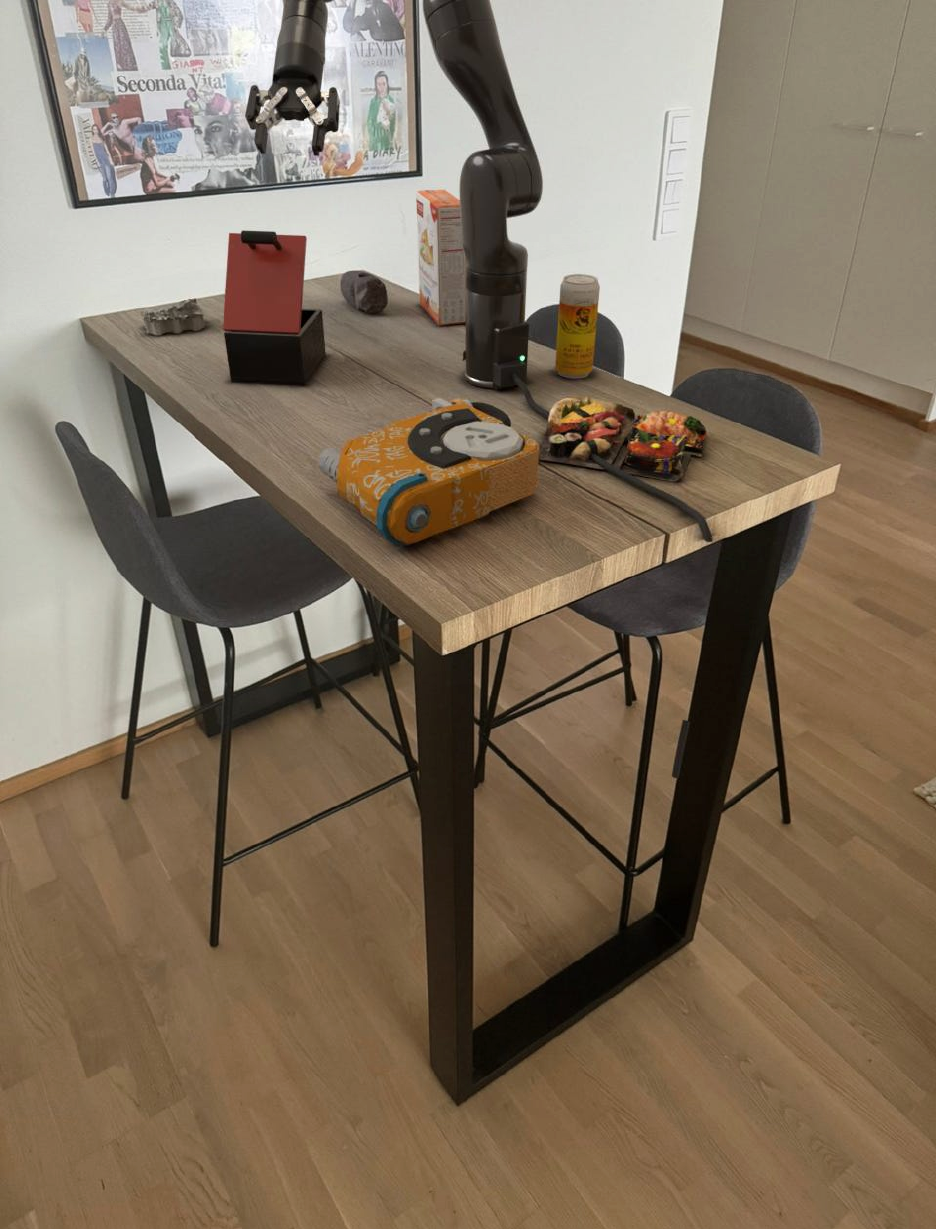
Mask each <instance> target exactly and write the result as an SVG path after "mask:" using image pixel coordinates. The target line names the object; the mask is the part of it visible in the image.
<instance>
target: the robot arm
mask: <svg viewBox="0 0 936 1229" xmlns="http://www.w3.org/2000/svg"><path fill="white" fill-rule="evenodd" d="M334 1H335V0H282V5H283V6H282V7H283V8H282V15H281V16H282V17H281V24H280V28H279V29H280V30H279V33H278V35H277V41H276V49H275V55H274V64H273V70H272V78H271V81H272V82H271V85H270V87H269V88H268V90H267V89H260V88H259V87H258V85H257V84H252V85H251V86H250V90H249V92H248V99H247V104H246V108H245V113H244V117H245V120H246V122H247V124H248V128H249V130H252V131H254V132H255V133H254V139H253V142H254V144H255V148H256V149H257V150H258V151H259V153H260V154H261V155H266V153H267V146H268V139H269V131H270V130H271V129H272V128H273V127H277V126H278V125H279V124H280V123H281V122H283V120H284V121H287V122H288V121H289V122H290V121H299V122H304V121H305V120H307V119H308V121H309V122H310V123H311V125H312V126H313V129H312V139H311V150H312V153H313V156H315V157H316V156H317V157H318V156H319V157H320V153H323V152H324V148H325V140H326V135H327V133H330V132H332V133H337V132H338V131H339V128H340V127H339V126H340V108H341V101H340V96H339V93H338V90H337V87H335V86H331V87H330V88H329V89H328V91H322V84H323V83H322V82H323V74H324V67H325V64H326V36H327V28H328V20H329V10H328V6H327V4H329V3H332V2H334ZM422 13H423V19H424V22H425V25H426V26H425V27H426V29H427V32H428V33H427V34H428V36H429V40H430V44H431V48H432V51H433V54H434V57H435V59H436V62H437V64H438V66H439V68H440V69H441V71H442V72H443V74H444V75H445V77H446V78H447V80H448V81H449V82H450V83H451V85H452V86H453V88H454V89H455V90H456V92H458V94H459V95H460V97H462V98H463V100H464V101H465V102H466V104H467V105H468V106H469V107H470V109H471V111H472V112H473V113H474V115H475V116H476V118H477V120H478V122H479V124H480V126H481V129H482V131H483V135H484V137H485V139H486V142H487V146H488V148H487V149H482V150H477V151H474V152H473V153H471V154H470V155H468V157H467V158H465V161H464V163H463V165H462V167H461V171H460V176H459V188H458V189H459V193H458V194H459V200H460V217H461V239H462V245H463V249H464V252H465V255H466V323H465V350H464V351H463V352H462V362H465V368H464V379H465V381H466V382H467V383H468V384H471V385H474V386H476V387H481V388H485V389H493V390H495V391H501V390H504V389H507V388H510V387H513V386H518V387H519V389H520V390H521V392H522V393H523V396H524V398H525V401H526V403H527V404H528V405H529V406H530V408H532V410H533V411H534V412H536V413H537V414H539V415H540V416H542V417H544V418H545V419H549V415H550V411H549V410H547V409H545V408H543V407H541V406H540V405H539V404H537V402H536V401H535V399H533V396H532V394H531V392H530V389H529V388H528V386H527V379H528V356H529V355H528V354H529V337H530V335H529V334H530V323H529V322H528V321H527V320H526V305H527V304H526V303H527V302H526V301H527V282H528V279H527V278H528V265H529V264H528V262H529V253H528V249H527V248H526V246H524V245H523V244H521V243H519V242H515V241H511V239H509V235H508V219H511V218H516V217H521V216H524V215H528V214H530V213H532V212H534V211H535V210H536V209H537V208H538V206H539V204H540V202H541V200H542V197H543V190H544V189H543V188H544V179H543V173H542V166H541V164H540V161H539V157H538V154H537V150H536V149H535V145H534V142H533V140H532V137H531V134H530V132H529V130H528V129H529V128H528V127H527V124H526V121H525V118H524V116H523V114H522V110H521V108H520V105H519V102H518V98H517V95H516V92H515V89H514V87H513V86H514V85H513V82H512V79H511V78H512V77H511V76H510V72H509V69H508V65H507V62H506V59H505V55H504V51H503V47H502V44H501V40H500V34H499V30H498V27H497V26H498V25H497V22H496V19H495V15H494V11H493V9H492V4H491V0H422ZM267 101H268V102H267ZM266 102H267V103H266ZM323 102H324V103H325V106H326V107H327V117H326V118H322V116H321V115H320V113H319V112H318V110H317V109H318V108H319V107H320V106H321V104H322V103H323ZM265 103H266V104H265ZM262 108H263V110H261V109H262ZM275 112H276V113H275ZM590 459H591V460H592V461H593V462H595V463H596V464H598V465H600V466H601V467H602V468H604V469H603V470H605V471H607V472H608V473H610V474H612V475H614V476H616V477H617V478H620V479H621V480H623V481H625V482H627V483H628V484H631V485H632V486H635V487H637V488H638V489H640V490H642V491H644V492H646V493H648V494H650V495H652V496H654V497H656V498H658V499H660V500H663V501H665V502H667V503H668V504H670V505H672V506H674V507H676V508H678V509H679V510H680V511H681V512H683V513H684V514H686V515H687V516H689V517H691V519H694V521H696V523H697V525H698V527H699V529H700V532H701V535H702V539H703V540H704V541H705V543H706V542H707V543H712V542H713V536H712V532H711V529H710V526H709V524H708V522H707V520H706V519H705V517H704V516H703V514H701V512H699V511H698V510H697V509H694V508H693V507H691V506H690V505H689V504H687V503H686V502H684V501H682V500H681V499H680V498H678V497H676V496H674V495H672V494H671V493H668V492H666V491H664V490H662V489H660V488H658V487H656V486H653V485H651V484H649V483H647V482H646V481H643V480H641V479H639V478H637V477H636V476H634V475H633V474H628V473H626V472H624V471H622V470H620V467H617V466H615V465H613V464H612V463H611V464H610V463H608V462H606V461H605V460H603V459H602V458H600V457H599V456H597V455H596V454H591V456H590ZM690 724H691V721H689V720H686V719H682V721H681V726H680V730H679V735H678V740H677V745H676V751H675V754H674V755H675V756H674V760H673V765H672V771H671V777H672V778H673V779H678V778H679V777H680V772H681V767H682V761H683V756H684V753H685V752H684V750H685V747H686V742H687V737H688V733H689V728H690Z"/></svg>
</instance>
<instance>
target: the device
mask: <svg viewBox="0 0 936 1229" xmlns="http://www.w3.org/2000/svg"><path fill="white" fill-rule="evenodd" d="M431 407H432V408H431V411H427V412H424V413H421V414H418V415H414V416H411V417H408V418H405V419H401V420H397V421H395V422H392V423H388V425H387V427H386V428H383V429H379V430H376V431H373V432H370V433H367V434H363V435H360V436H356V437H353V439H347V440H346V443H345V444H344V446H343V448H342V450H339V449H338V448H334V447H329V448H326V449H324V450H323V451H322V452H321V454H320V455H319V456H318V459H317V467H318V468H319V470H320V472H321V473H322V474H323V475H325V476H327V477H328V478H330V479H331V480H333V481H334V482H335V483H336V487H337V492H338V495H339V498H341V499H343V500H344V501H346V502H348V503H349V504H350V505H352V506H353V507H354V508H356V509H357V510H359V511H360V515H361V516H362V517H364V518H365V519H366V520H368V521H370V522H371V523H372V524H373V525H375V526H376V529H377V530H378V532H379V533H380V534H381V536H382V537H383V538H384V540H386V541H388V542H389V543H392V544H393V545H396V546H398V547H401V546H411V545H413V544H415V543H419V542H421V541H424V540H426V539H429V538H431V537H434V536H437V535H438V534H441V533H443V532H447V531H449V530H452V529H454V528H457V527H460V526H462V525H464V524H467V523H470V522H473V521H475V520H478V519H480V518H483V517H485V516H488V515H489V513H491V512H493V511H496V510H498V509H500V508H502V507H505V506H507V505H509V504H512V503H514V502H517V501H520V500H521V499H525V498H526V497H529V496H532V495H534V493H535V492H536V490H537V488H538V474H539V458H540V443H538V442H537V441H536V440H535V439H533V438H531V437H529V436H527V435H526V434H524V433H521V432H520V431H517V430H515V429H514V428H513V427H511V426H512V422H511V421H512V420H511V418H510V417H509V415H508V414H507V413H506V412H505V411H503V410H502V409H500V408H498V407H496V406H494V405H492V404H489V403H486V402H481V401H480V402H479V401H472V402H471V401H470V400H468V399H462V398H453V399H452V400H450V401H447V400H445V399H443V398H441V397H437V398H434V399H432V401H431Z"/></svg>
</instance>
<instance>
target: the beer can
mask: <svg viewBox="0 0 936 1229" xmlns="http://www.w3.org/2000/svg"><path fill="white" fill-rule="evenodd" d="M600 288H601V287H600V284H599V279H598V277H596V276H594V275H591V274H585V273H584V274H583V273H574V274H568V275H567V274H566V275H565V276H564V277H563V279H562V281H561V283H560V286H559V301H558V302H559V303H558V315H557V316H558V317H557V333H556V345H555V346H556V347H555V362H554V369H555V370H556V371H557V374H558V375H559V376H561V377H562V378H567V379H583V378H586V377H588V376H589V374H590V373H591V372H592V371H593V366H594V356H595V355H594V354H595V345H596V344H595V343H596V333H597V322H598V312H599V300H600V291H601V290H600Z"/></svg>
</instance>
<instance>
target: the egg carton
mask: <svg viewBox="0 0 936 1229" xmlns="http://www.w3.org/2000/svg"><path fill="white" fill-rule="evenodd" d="M140 315H141V316H142V320H143V326H144V328H145V329H146V333H147V334H149V335H154V336H156V337H157V336H158V337H159V336H162V335H164V334H165V333H174V334H181V333H182V332H184V331H193V332H199V331H200V330H201V329H202V330H203V329H205V327H206V325H205V318H204V316H205V313H204V312H203V311H202V308H201V307H200V304H199V302H198V300H197V298H196V297H195V298H188V299H183V300H180V301H179V303H178V305H174V304H171V305H170V307H166V308H158V309H154V310H153V311H149V312H148V310H146V311H140Z"/></svg>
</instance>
